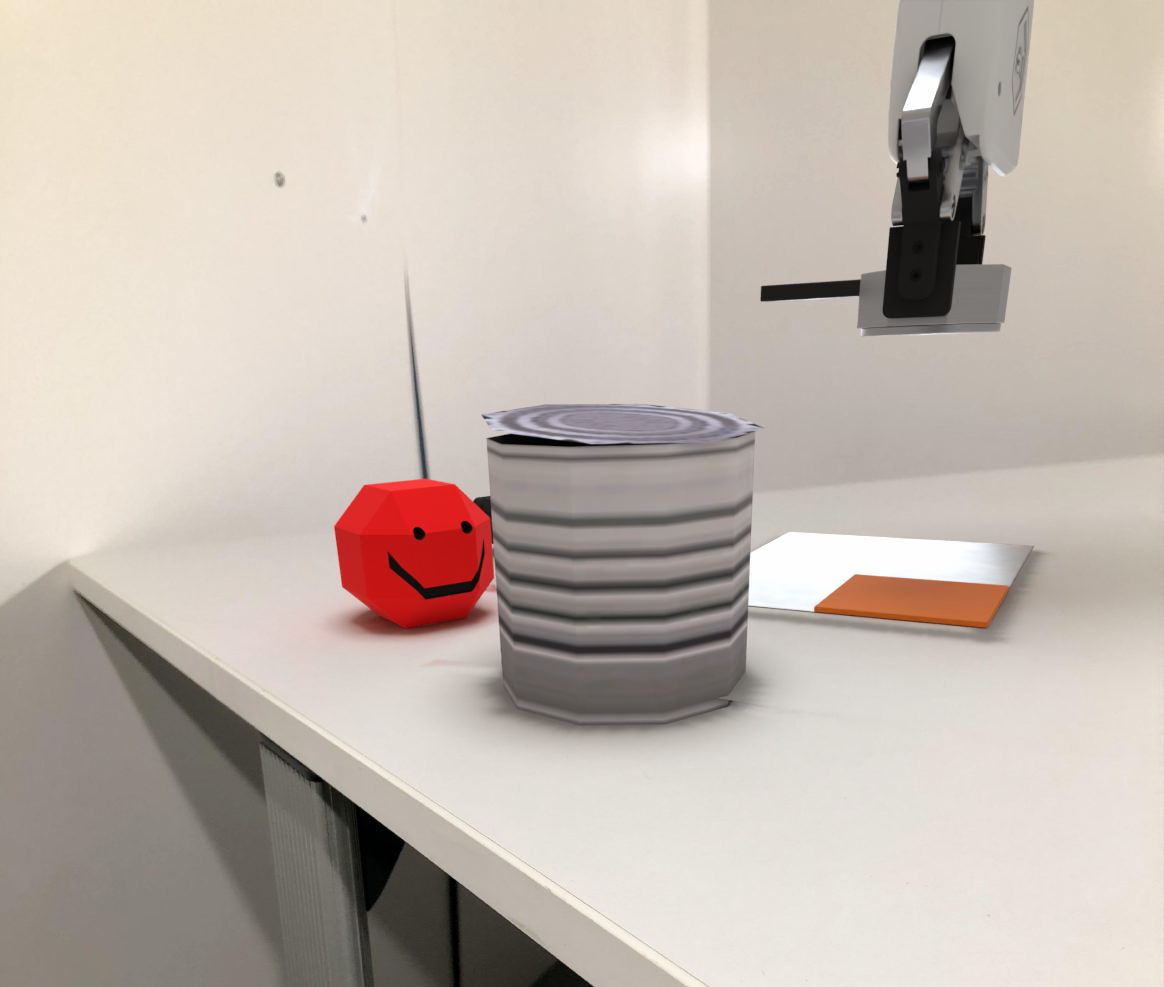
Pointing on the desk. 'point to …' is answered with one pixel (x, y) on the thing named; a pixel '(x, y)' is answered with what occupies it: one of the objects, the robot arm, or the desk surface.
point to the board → (869, 566)
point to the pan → (971, 312)
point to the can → (621, 559)
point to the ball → (415, 551)
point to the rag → (916, 600)
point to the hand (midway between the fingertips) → (931, 315)
